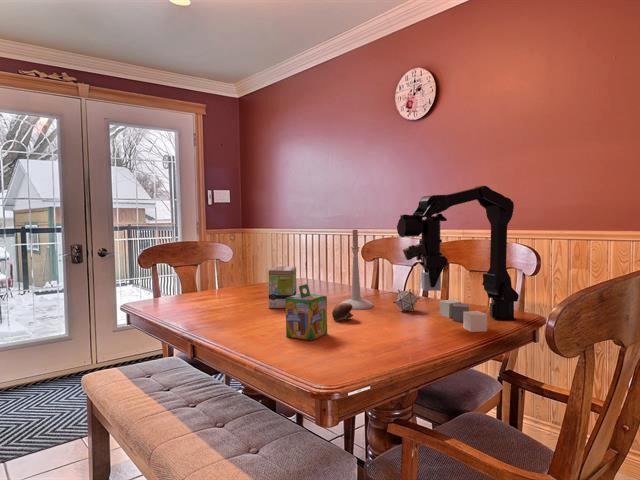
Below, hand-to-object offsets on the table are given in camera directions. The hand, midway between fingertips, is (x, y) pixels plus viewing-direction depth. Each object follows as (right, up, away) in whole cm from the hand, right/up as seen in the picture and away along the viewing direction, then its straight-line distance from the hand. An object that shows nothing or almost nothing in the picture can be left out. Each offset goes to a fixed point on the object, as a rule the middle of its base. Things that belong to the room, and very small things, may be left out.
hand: (430, 285), depth 132 cm
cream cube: (+12, -13, -5) cm, 18 cm away
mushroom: (-27, -13, +10) cm, 31 cm away
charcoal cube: (+12, -12, +7) cm, 18 cm away
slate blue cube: (0, -1, 0) cm, 1 cm away
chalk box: (-38, -14, -9) cm, 42 cm away
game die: (-3, -12, +21) cm, 24 cm away
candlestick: (-21, -11, +31) cm, 39 cm away
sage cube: (+10, -12, +13) cm, 20 cm away
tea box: (-49, -12, +37) cm, 63 cm away
